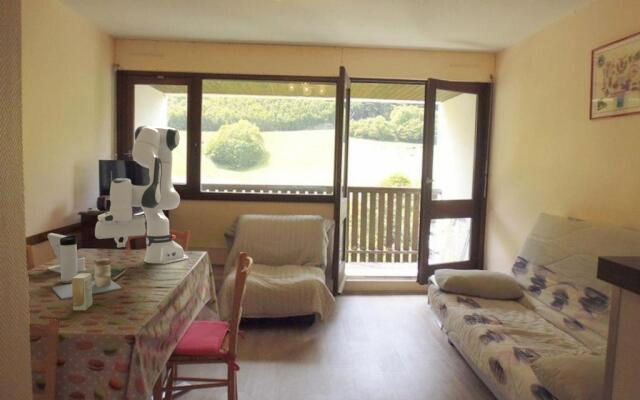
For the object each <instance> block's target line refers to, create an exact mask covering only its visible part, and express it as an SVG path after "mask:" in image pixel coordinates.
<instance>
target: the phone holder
mask: <svg viewBox="0 0 640 400" xmlns="http://www.w3.org/2000/svg"><path fill="white" fill-rule="evenodd" d="M63 237H67V235H63V234H60V233H53V232H50V233H47V239H48V241H49V244H50V245H51V247H52V250H53V252H54V255H55V257H56V259H57V261H58V263H59V264H58V265H53V266H49V267H47V270H48V269H49V270H48V271H52V272H55V273H60V274H61V262H60V239H61V238H63ZM85 260H86V258H85V257H84V256H77V273H81V272H85V271H87V268H86V267H85V266H86V265H85ZM84 270H85V271H84Z"/></svg>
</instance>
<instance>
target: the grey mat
mask: <svg viewBox="0 0 640 400" xmlns="http://www.w3.org/2000/svg"><path fill="white" fill-rule="evenodd" d="M122 289H123V288H122V286H120V285H119V284H117V283H116V282H115V281H113V280H112V279H111V285H108V286H102V287H97V286H96V285H95V279H94V280H93V279H92V295H95V294H102V293H107V292H113V291H120V290H122ZM51 290H53V292H54V293H55V295H57V296H58V297H59V299H60V300H61V301H64V300H68V299H73V293H72V283H67V284H63V285H54V286H52V287H51Z"/></svg>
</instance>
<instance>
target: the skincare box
mask: <svg viewBox="0 0 640 400" xmlns="http://www.w3.org/2000/svg"><path fill="white" fill-rule="evenodd" d="M92 281H93V279H92V273H89V272H88V273H86V272H84V273H83V272H82V273H81V272H79V273H77V275H76V276H75V277H73V278H72V283H71V284H72V293H73V298H72V310H73V311H86V310H87V309H89V308H90V307H91V306H92V305H93V294H92Z"/></svg>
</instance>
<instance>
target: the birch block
mask: <svg viewBox="0 0 640 400" xmlns="http://www.w3.org/2000/svg"><path fill="white" fill-rule="evenodd" d="M93 265H94V269H93V270H94V271H93V272H94V280H95V285H96V286H97V287H102V286H108V285H111V280H112V279H111V275H112V274H111V273H112V272H111V271H112V270H111V259H109V258H108V257H101V258H94V259H93Z"/></svg>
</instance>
